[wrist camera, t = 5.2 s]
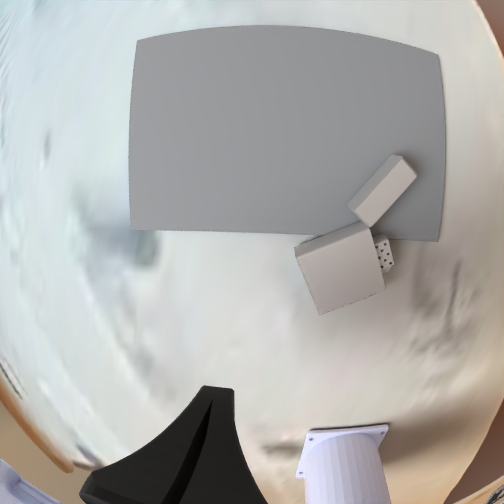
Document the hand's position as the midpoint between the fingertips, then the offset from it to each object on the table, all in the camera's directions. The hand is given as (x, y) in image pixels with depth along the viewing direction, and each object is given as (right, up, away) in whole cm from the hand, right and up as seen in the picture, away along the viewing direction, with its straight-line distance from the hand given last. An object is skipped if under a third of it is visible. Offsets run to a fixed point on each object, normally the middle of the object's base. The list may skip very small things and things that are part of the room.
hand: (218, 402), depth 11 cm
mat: (+4, +14, +4) cm, 15 cm away
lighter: (+4, +6, +5) cm, 9 cm away
